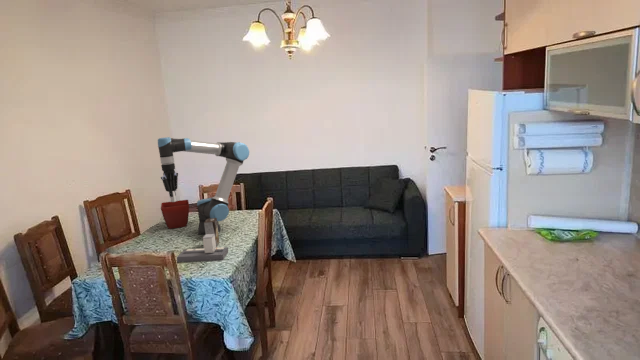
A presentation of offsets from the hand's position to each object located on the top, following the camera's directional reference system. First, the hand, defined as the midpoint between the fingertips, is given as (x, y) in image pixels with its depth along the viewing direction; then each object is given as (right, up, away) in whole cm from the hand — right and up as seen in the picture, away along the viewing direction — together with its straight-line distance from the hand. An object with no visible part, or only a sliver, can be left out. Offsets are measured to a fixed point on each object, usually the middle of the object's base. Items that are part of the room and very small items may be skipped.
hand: (173, 201), depth 258 cm
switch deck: (+22, -31, -15) cm, 41 cm away
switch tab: (+27, -27, -16) cm, 42 cm away
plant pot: (-15, -21, +53) cm, 59 cm away
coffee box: (+23, -27, +4) cm, 36 cm away
